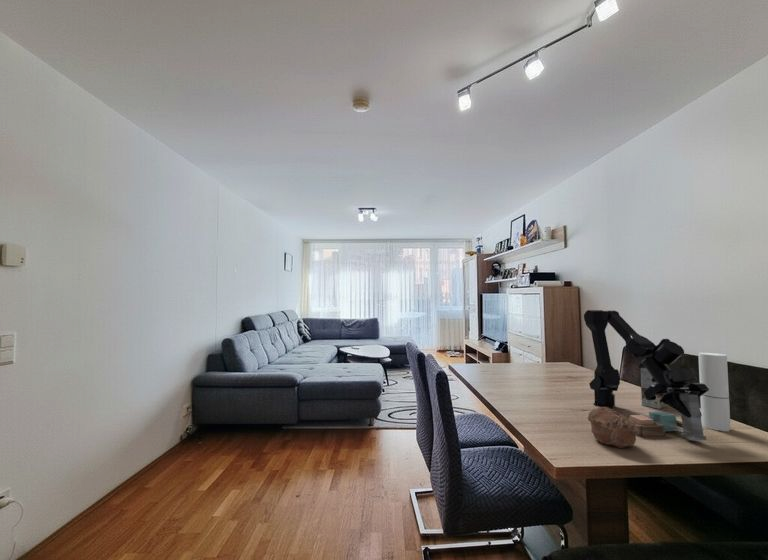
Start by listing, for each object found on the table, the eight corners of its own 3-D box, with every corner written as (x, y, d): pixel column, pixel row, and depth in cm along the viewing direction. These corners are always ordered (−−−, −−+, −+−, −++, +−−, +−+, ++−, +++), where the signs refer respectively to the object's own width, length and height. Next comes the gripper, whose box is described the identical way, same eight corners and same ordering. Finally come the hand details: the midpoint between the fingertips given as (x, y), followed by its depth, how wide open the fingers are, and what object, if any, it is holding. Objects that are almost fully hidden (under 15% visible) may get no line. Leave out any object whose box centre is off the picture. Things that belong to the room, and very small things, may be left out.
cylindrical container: (722, 425, 118) (719, 353, 120) (735, 432, 112) (731, 356, 113) (697, 422, 121) (694, 352, 122) (708, 429, 114) (705, 354, 116)
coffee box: (659, 409, 135) (658, 368, 136) (641, 405, 140) (639, 366, 141) (668, 405, 140) (667, 366, 141) (650, 401, 145) (649, 364, 146)
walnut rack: (619, 427, 115) (619, 418, 116) (668, 425, 118) (667, 416, 118) (638, 436, 108) (638, 427, 108) (690, 434, 110) (690, 425, 110)
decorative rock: (581, 434, 109) (580, 403, 110) (614, 433, 110) (613, 402, 111) (611, 453, 96) (610, 417, 97) (648, 452, 97) (647, 416, 98)
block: (629, 428, 115) (629, 415, 115) (642, 428, 115) (641, 415, 115) (641, 434, 110) (640, 420, 110) (653, 433, 111) (653, 419, 111)
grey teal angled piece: (650, 427, 116) (646, 388, 118) (663, 426, 117) (658, 387, 118) (693, 440, 102) (687, 395, 104) (707, 440, 102) (701, 395, 104)
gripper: (650, 359, 109) (685, 404, 97) (701, 358, 111) (742, 402, 99) (630, 377, 116) (661, 422, 105) (679, 376, 118) (714, 420, 107)
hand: (695, 416), depth 104 cm, fingers closed on grey teal angled piece, 3 cm apart
